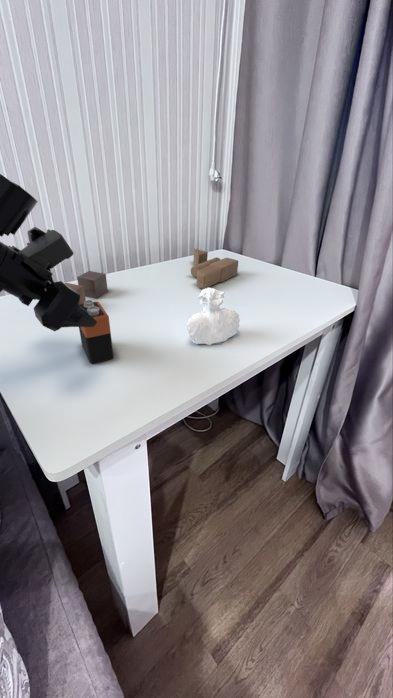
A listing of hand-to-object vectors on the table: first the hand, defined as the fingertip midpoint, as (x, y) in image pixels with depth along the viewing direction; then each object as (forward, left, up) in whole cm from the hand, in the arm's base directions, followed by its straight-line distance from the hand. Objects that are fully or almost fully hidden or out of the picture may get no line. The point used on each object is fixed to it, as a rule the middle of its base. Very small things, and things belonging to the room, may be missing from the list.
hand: (84, 313), depth 57 cm
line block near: (-1, +22, -9) cm, 24 cm away
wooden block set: (+37, +32, -9) cm, 50 cm away
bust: (+24, -2, -9) cm, 26 cm away
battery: (+1, 0, -9) cm, 9 cm away
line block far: (+5, +28, -9) cm, 30 cm away
